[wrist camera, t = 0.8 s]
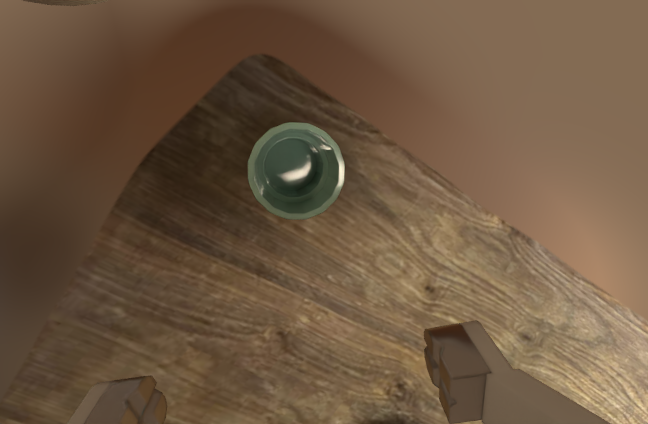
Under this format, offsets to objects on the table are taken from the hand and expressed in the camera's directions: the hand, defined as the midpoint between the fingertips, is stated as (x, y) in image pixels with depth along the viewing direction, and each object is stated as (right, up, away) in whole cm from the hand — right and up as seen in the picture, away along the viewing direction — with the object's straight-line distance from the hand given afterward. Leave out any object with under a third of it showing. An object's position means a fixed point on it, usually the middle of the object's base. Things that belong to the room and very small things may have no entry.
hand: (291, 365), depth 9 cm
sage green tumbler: (-2, +9, +18) cm, 21 cm away
